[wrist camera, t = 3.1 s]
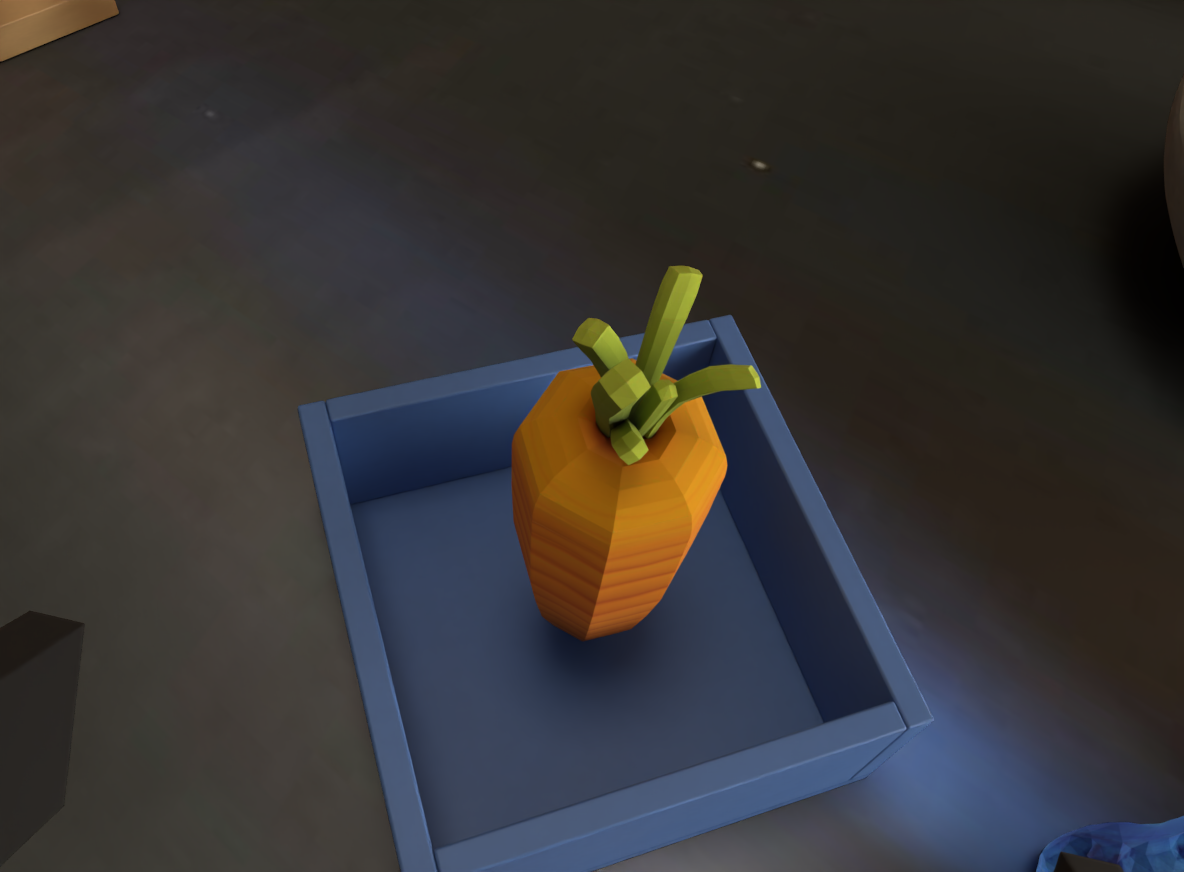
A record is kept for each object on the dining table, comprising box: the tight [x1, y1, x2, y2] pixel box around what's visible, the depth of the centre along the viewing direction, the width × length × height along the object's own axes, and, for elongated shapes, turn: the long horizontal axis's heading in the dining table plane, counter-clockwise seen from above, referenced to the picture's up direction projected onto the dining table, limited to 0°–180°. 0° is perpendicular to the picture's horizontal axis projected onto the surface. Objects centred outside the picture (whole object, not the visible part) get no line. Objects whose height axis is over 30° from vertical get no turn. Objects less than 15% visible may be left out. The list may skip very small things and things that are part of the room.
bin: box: [298, 315, 934, 872], centre depth 30 cm, size 14×14×6 cm
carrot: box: [511, 266, 761, 642], centre depth 26 cm, size 5×5×15 cm
